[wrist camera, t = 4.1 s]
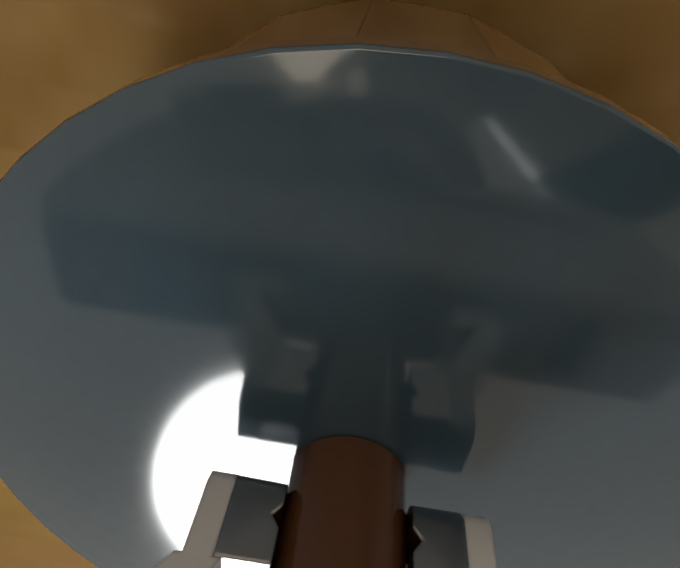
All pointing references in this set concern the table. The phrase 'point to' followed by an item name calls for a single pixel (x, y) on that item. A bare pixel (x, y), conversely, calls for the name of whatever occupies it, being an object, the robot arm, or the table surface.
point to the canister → (396, 29)
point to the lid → (347, 308)
